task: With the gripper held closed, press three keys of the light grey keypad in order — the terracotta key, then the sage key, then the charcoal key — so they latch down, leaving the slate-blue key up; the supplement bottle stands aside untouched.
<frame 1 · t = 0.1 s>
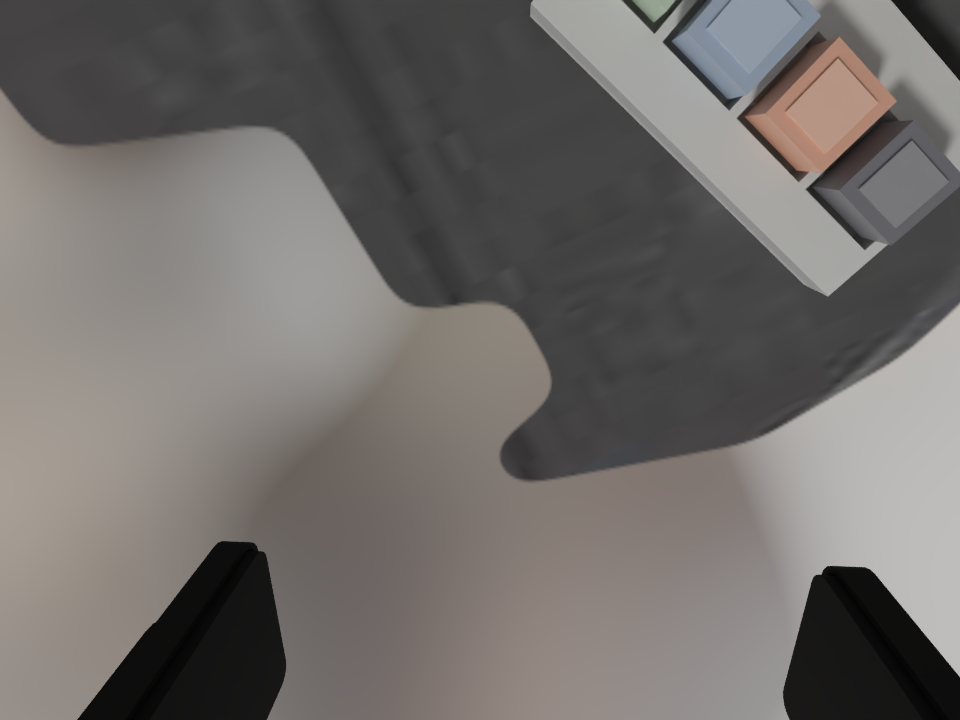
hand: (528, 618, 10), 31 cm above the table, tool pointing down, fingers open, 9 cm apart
key slate: (742, 29, 29), point 4 cm above the table, slide at 0.0 cm
key charcoal: (886, 183, 31), point 4 cm above the table, slide at 0.0 cm
key terracotta: (816, 109, 30), point 4 cm above the table, slide at 0.0 cm
keypad: (750, 78, 33), on the table
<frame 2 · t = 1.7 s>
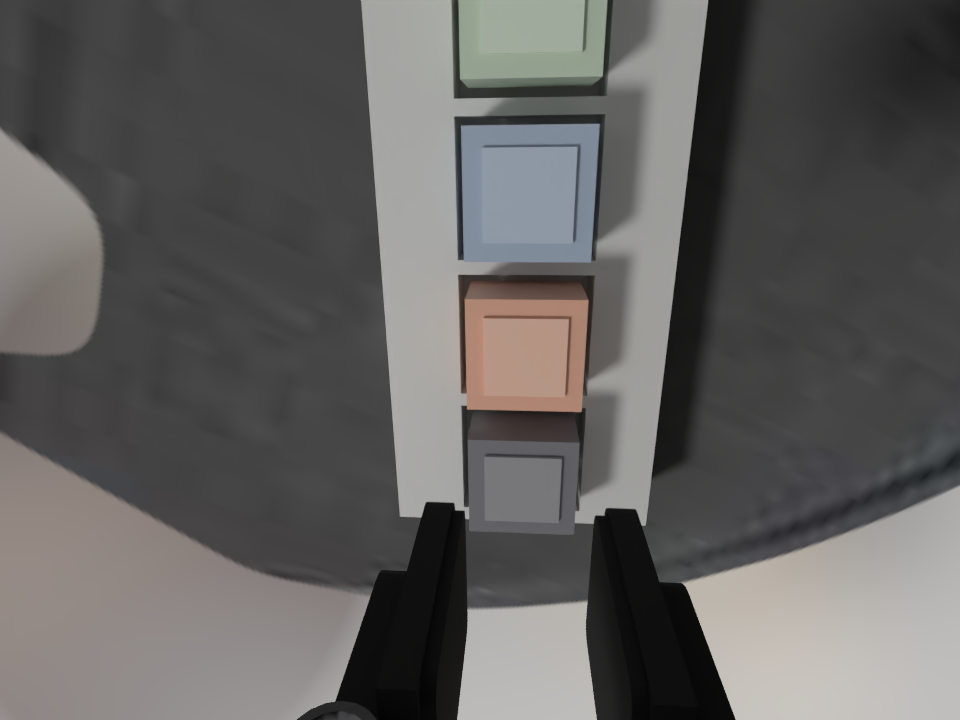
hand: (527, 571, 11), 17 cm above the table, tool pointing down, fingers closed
key slate: (527, 193, 21), point 4 cm above the table, slide at 0.0 cm
key sage: (531, 5, 18), point 4 cm above the table, slide at 0.0 cm
key charcoal: (522, 470, 25), point 4 cm above the table, slide at 0.0 cm
key terracotta: (524, 345, 23), point 4 cm above the table, slide at 0.0 cm
keypad: (525, 253, 26), on the table
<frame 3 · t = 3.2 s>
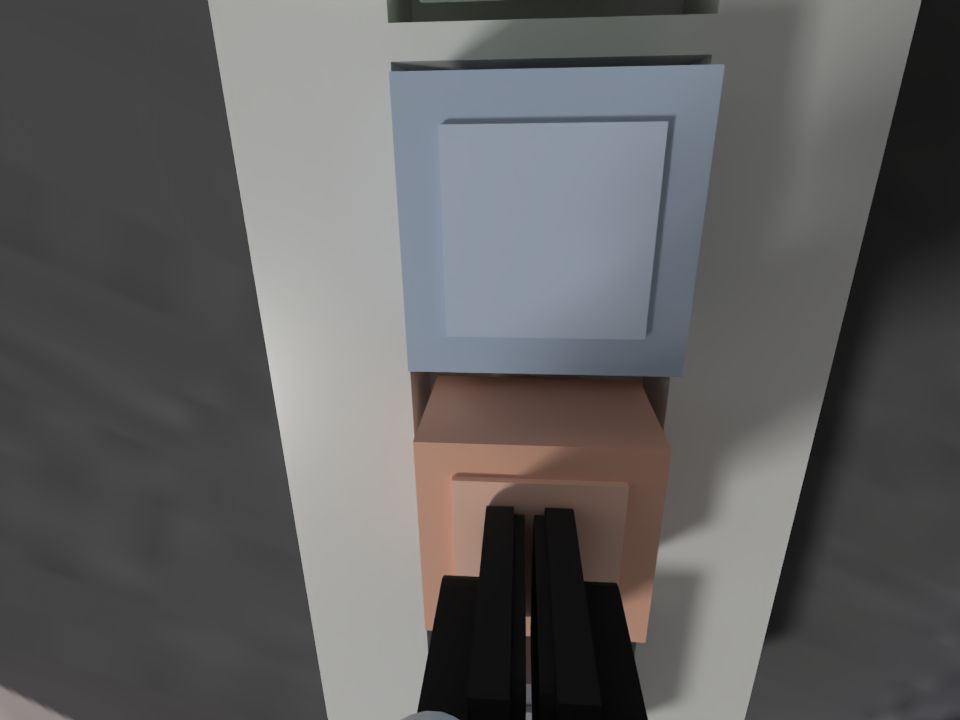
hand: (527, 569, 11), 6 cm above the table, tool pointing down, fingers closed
key slate: (544, 223, 10), point 4 cm above the table, slide at 0.0 cm
key charcoal: (529, 696, 14), point 4 cm above the table, slide at 0.0 cm
key terracotta: (535, 503, 12), point 4 cm above the table, slide at 0.0 cm, touching gripper
keypad: (536, 315, 15), on the table
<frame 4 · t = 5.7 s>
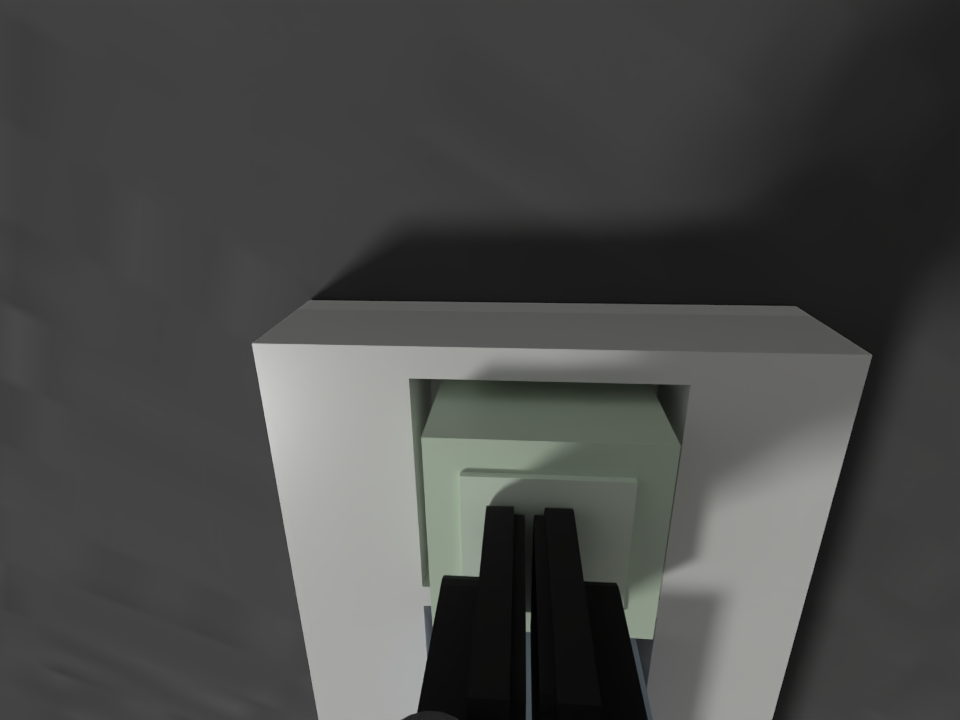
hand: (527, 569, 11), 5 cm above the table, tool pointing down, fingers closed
key sage: (542, 500, 12), point 3 cm above the table, slide at 0.9 cm
keypad: (531, 664, 18), on the table
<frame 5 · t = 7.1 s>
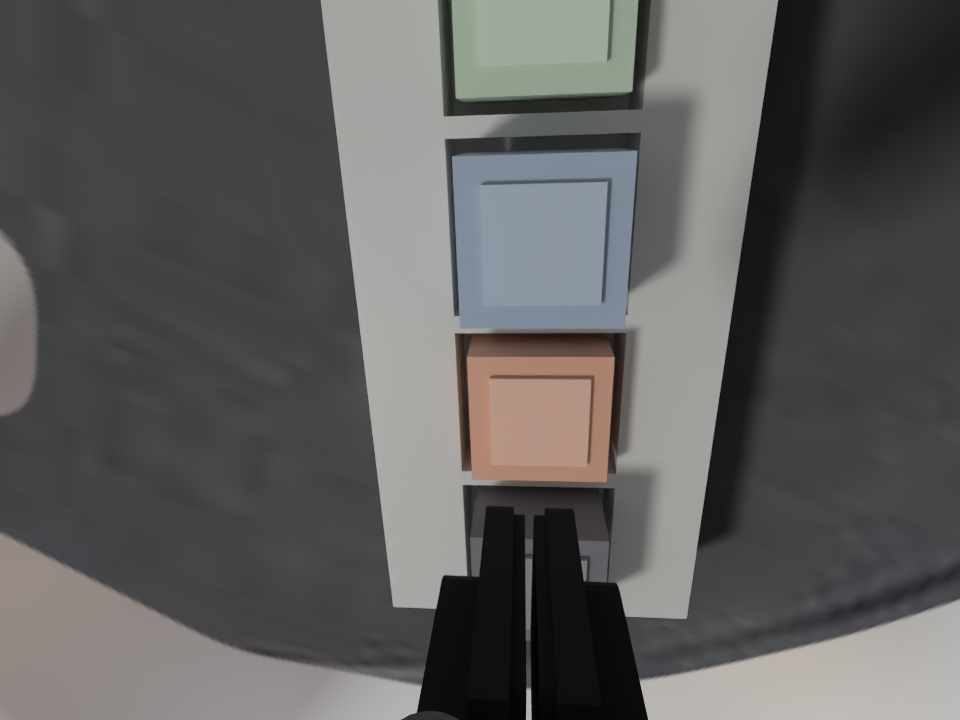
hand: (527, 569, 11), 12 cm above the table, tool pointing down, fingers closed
key slate: (541, 236, 16), point 4 cm above the table, slide at 0.0 cm
key sage: (542, 4, 15), point 3 cm above the table, slide at 1.3 cm
key charcoal: (537, 562, 20), point 4 cm above the table, slide at 0.0 cm
key terracotta: (538, 402, 19), point 3 cm above the table, slide at 1.3 cm
keypad: (537, 297, 21), on the table
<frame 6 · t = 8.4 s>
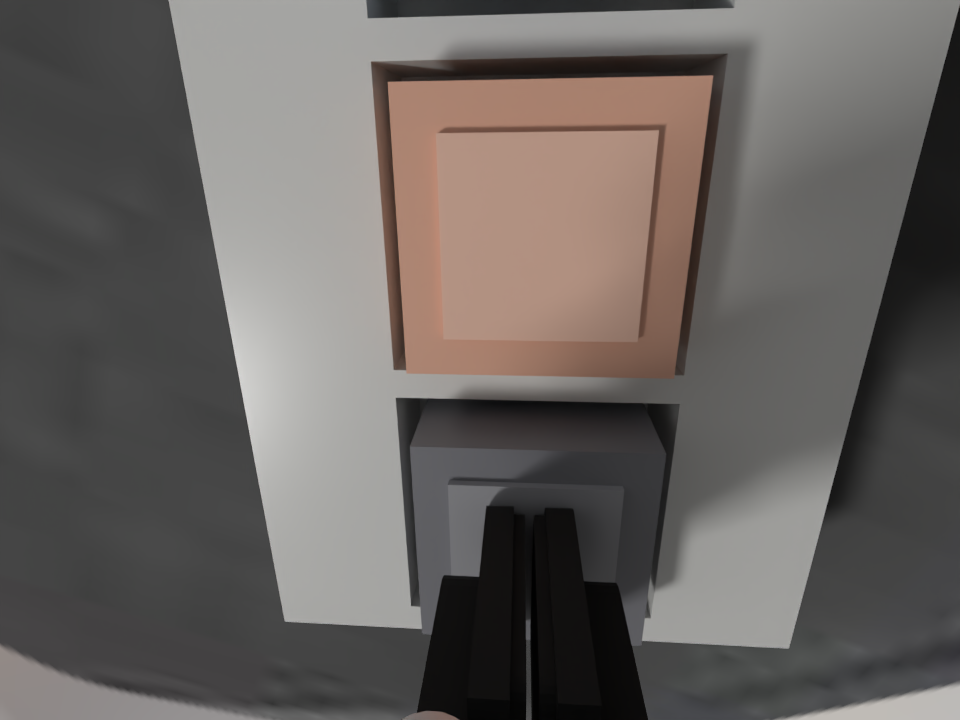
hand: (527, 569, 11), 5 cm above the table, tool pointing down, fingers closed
key charcoal: (531, 507, 12), point 3 cm above the table, slide at 1.2 cm, touching gripper
key terracotta: (539, 228, 10), point 3 cm above the table, slide at 1.3 cm
keypad: (540, 62, 12), on the table
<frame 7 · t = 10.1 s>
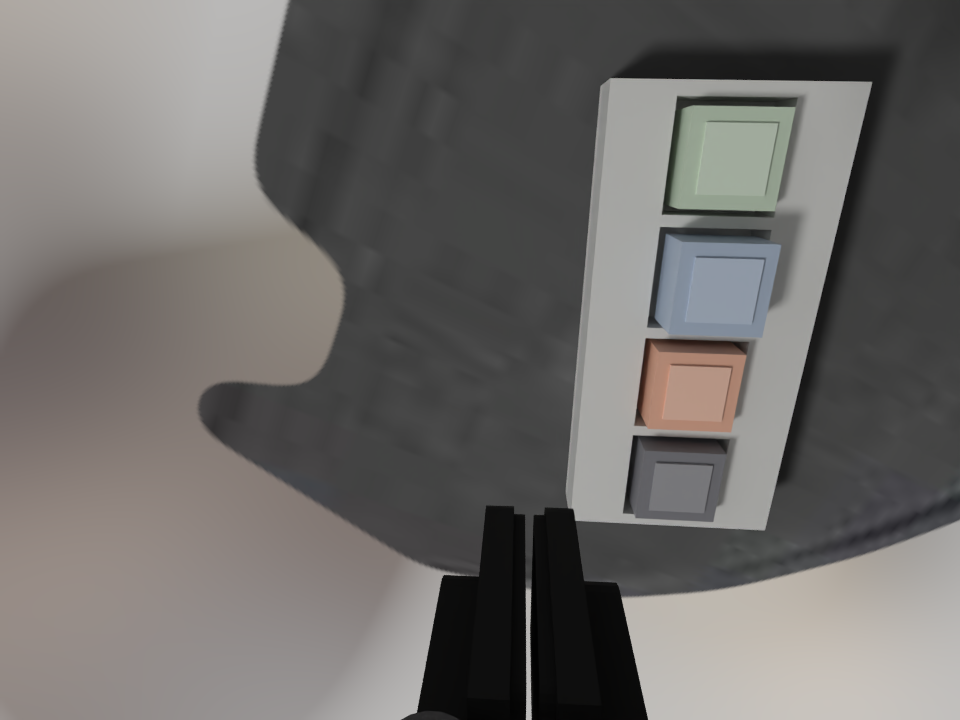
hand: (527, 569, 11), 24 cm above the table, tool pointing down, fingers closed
key slate: (713, 284, 28), point 4 cm above the table, slide at 0.0 cm
key sage: (724, 159, 27), point 3 cm above the table, slide at 1.3 cm
key charcoal: (673, 474, 34), point 3 cm above the table, slide at 1.3 cm
key terracotta: (687, 383, 32), point 3 cm above the table, slide at 1.3 cm
keypad: (681, 318, 33), on the table
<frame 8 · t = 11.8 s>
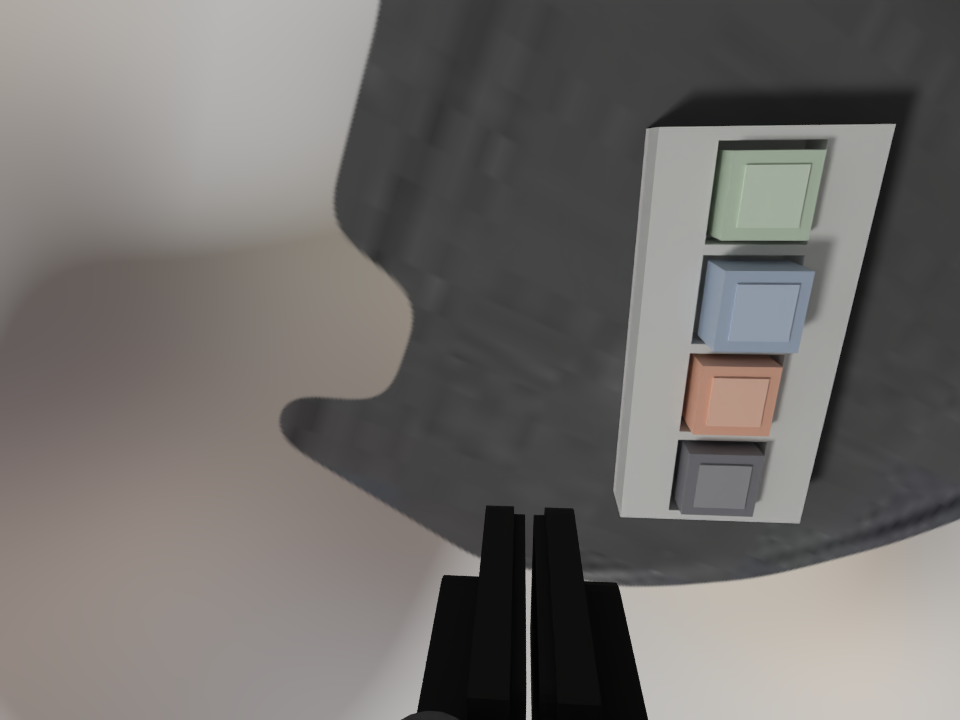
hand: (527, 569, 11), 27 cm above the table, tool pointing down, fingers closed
key slate: (752, 305, 31), point 4 cm above the table, slide at 0.0 cm
key sage: (761, 194, 31), point 3 cm above the table, slide at 1.3 cm
key charcoal: (714, 473, 37), point 3 cm above the table, slide at 1.3 cm
key terracotta: (728, 392, 35), point 3 cm above the table, slide at 1.3 cm
keypad: (720, 332, 36), on the table
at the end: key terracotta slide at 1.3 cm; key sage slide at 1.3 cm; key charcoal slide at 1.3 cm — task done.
